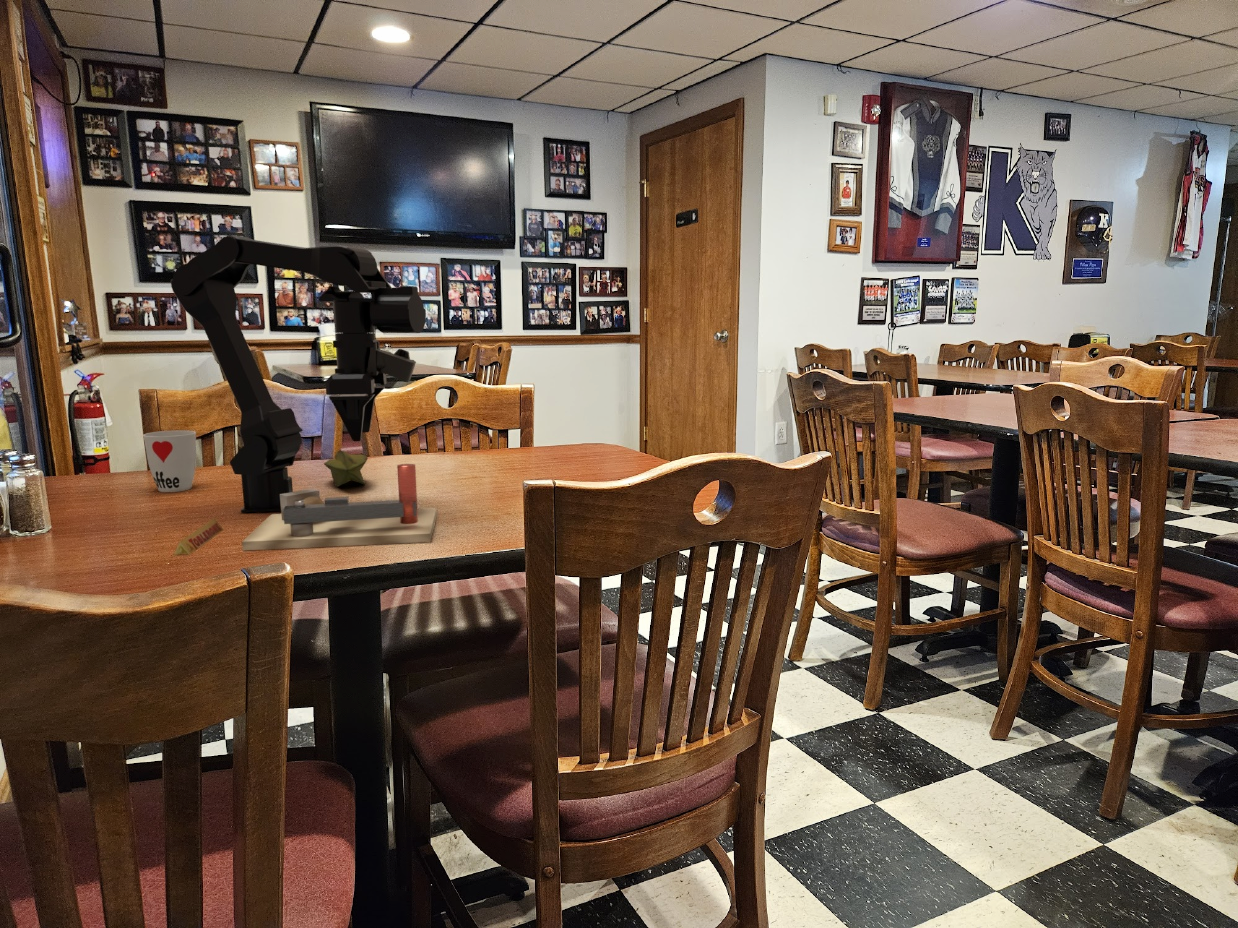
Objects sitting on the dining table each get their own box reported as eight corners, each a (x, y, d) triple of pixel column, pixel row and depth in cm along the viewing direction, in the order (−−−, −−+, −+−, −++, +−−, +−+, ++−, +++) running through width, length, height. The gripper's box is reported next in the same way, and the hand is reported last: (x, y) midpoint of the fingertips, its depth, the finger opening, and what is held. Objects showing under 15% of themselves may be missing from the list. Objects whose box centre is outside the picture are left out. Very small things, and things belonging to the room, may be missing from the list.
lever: (284, 531, 107) (279, 472, 106) (288, 524, 111) (284, 467, 109) (418, 523, 111) (415, 466, 110) (417, 516, 115) (415, 461, 113)
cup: (138, 491, 141) (131, 435, 139) (178, 483, 148) (173, 429, 147) (171, 495, 138) (165, 437, 136) (211, 486, 145) (206, 431, 144)
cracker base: (242, 550, 106) (239, 513, 105) (272, 522, 120) (269, 489, 119) (430, 542, 109) (428, 506, 108) (437, 515, 124) (435, 483, 123)
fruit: (392, 481, 150) (390, 446, 149) (352, 495, 139) (349, 457, 137) (340, 477, 153) (337, 443, 152) (297, 490, 142) (294, 453, 141)
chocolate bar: (171, 558, 104) (169, 541, 104) (206, 533, 116) (205, 518, 115) (193, 557, 104) (191, 540, 104) (225, 532, 116) (224, 517, 116)
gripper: (404, 334, 113) (410, 444, 116) (415, 331, 131) (420, 427, 134) (321, 334, 111) (329, 446, 114) (344, 332, 129) (350, 428, 132)
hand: (361, 436), depth 123 cm, fingers open, 9 cm apart
